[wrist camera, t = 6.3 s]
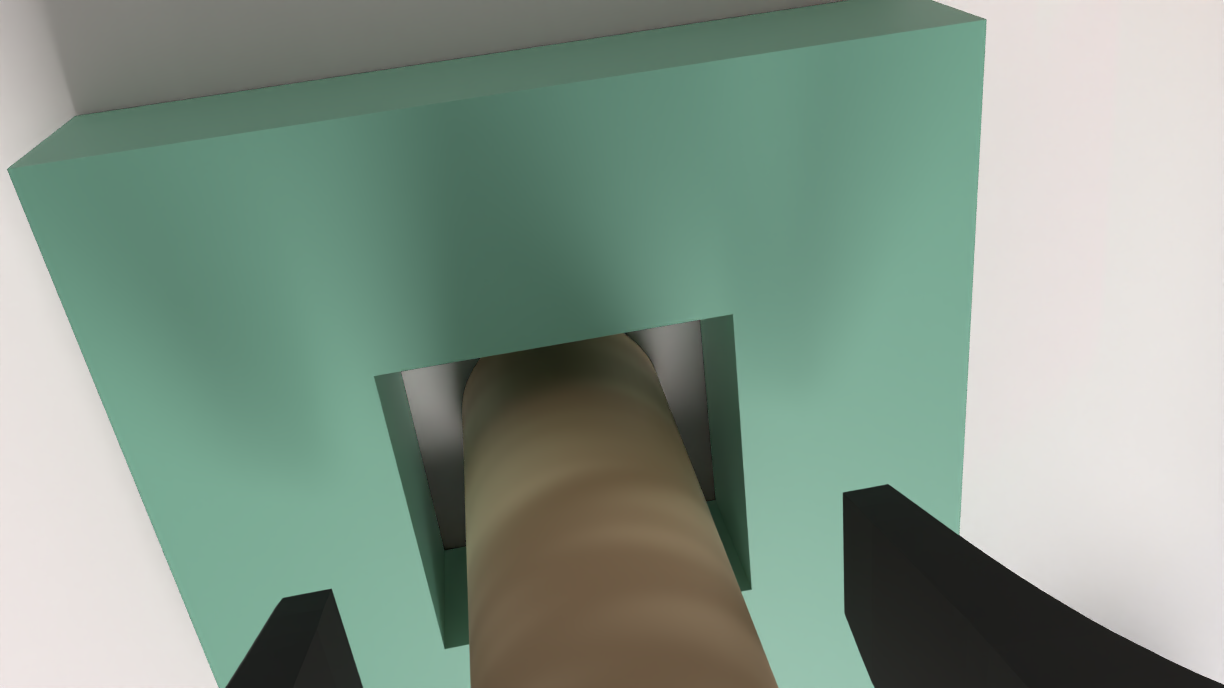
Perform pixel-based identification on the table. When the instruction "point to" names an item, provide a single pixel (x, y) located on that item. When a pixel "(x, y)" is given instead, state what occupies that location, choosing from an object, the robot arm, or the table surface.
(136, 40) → the table surface
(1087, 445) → the table surface
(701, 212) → the socket block
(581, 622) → the dowel
